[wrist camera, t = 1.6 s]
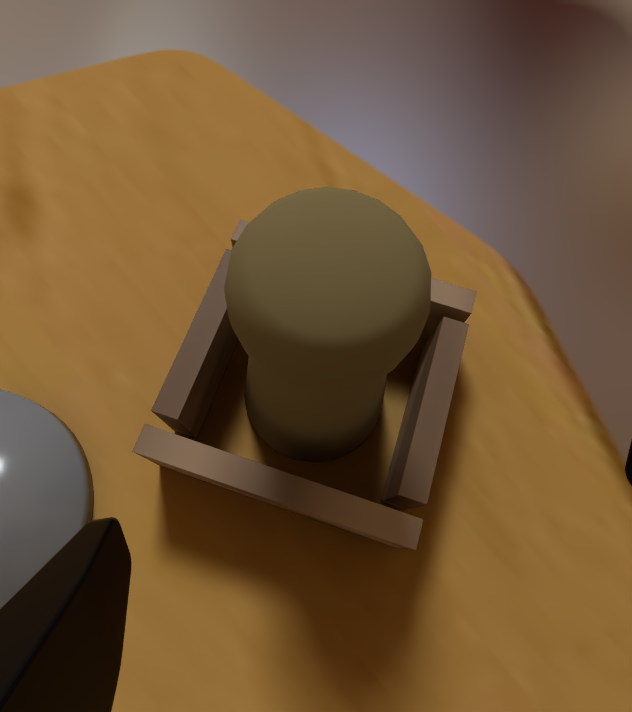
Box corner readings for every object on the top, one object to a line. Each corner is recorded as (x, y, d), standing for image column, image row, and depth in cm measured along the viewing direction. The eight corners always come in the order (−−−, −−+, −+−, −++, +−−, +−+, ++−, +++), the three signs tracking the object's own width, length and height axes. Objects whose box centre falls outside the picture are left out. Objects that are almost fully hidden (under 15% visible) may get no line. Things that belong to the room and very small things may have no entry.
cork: (389, 459, 20) (489, 377, 10) (244, 465, 20) (189, 388, 9) (376, 326, 22) (446, 145, 12) (244, 330, 22) (199, 147, 11)
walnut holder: (449, 327, 22) (476, 291, 19) (394, 547, 19) (416, 550, 16) (247, 264, 23) (239, 219, 20) (159, 465, 20) (132, 451, 16)
